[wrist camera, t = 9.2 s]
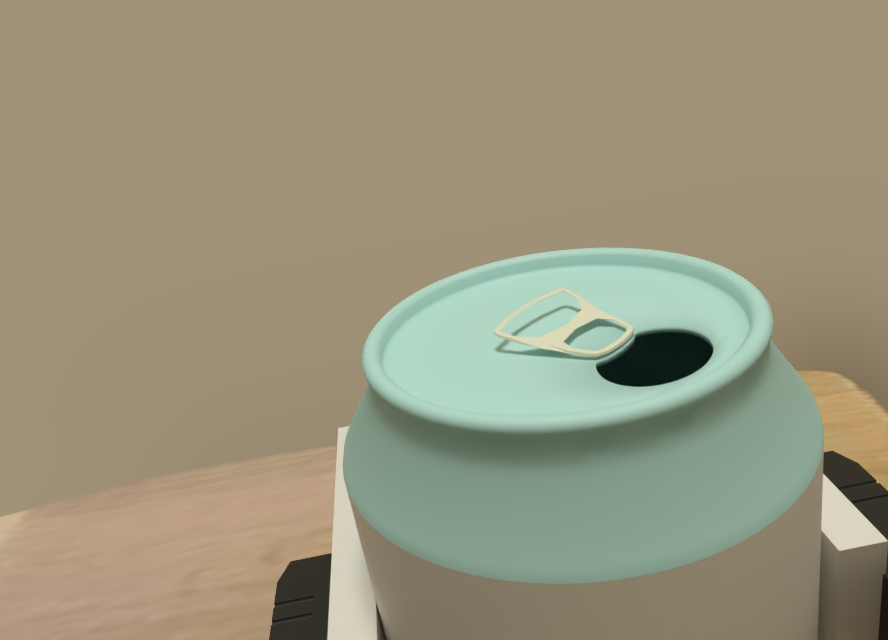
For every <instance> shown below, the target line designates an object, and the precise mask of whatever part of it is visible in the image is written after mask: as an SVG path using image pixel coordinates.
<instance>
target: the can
mask: <svg viewBox="0 0 888 640" xmlns="http://www.w3.org/2000/svg"><path fill="white" fill-rule="evenodd" d="M772 331H773V315H772V311H771V308H770V305H769V303H768V302H767V300H766V298H765V297H764V295H763V294H762V293H761V292H760V291H759V290H758V289H757V288H755V286H753V285H752V284H751V283H750V282H748V281H747V280H746V279H744V278H743V277H741V276H740V275H738V274H736V273H735V272H732V271H731V270H729V269H727V268H725V267H722V266H720V265H717V264H715V263H712V262H709V261H706V260H702V259H699V258H695V257H691V256H687V255H682V254H677V253H671V252H665V251H658V250H648V249H633V248H585V249H570V250H561V251H551V252H545V253H537V254H531V255H525V256H520V257H515V258H510V259H506V260H501V261H497V262H493V263H489V264H486V265H482V266H479V267H475V268H472V269H469V270H466V271H463V272H460V273H458V274H455V275H452V276H450V277H447V278H445V279H443V280H440V281H438V282H435V283H433V284H432V285H429V286H427V287H425V288H423V289H421V290H419V291H418V292H416V293H414V294H412V295H411V296H409V297H407V298H406V299H404V300H403V301H402V302H400V303H399V304H397V305H396V306H395V307H393V308H392V309H391V310H390V311H389V312H388V313H387V314H385V315H384V316H383V318H382V319H381V320H380V321H379V322H378V323H377V324H376V326H375V327H374V328H373V330H372V331H371V333H370V334H369V336H368V337H367V339H366V341H365V344H364V347H363V350H362V359H361V360H362V367H363V372H364V375H365V377H366V380H367V382H368V386H367V388H366V391H365V394H364V395H363V398H362V400H361V402H360V405H359V406H358V409H357V411H356V413H355V416H354V418H353V420H352V422H351V425H350V427H349V429H348V432H347V435H346V439H345V444H344V454H343V476H344V481H345V485H346V489H347V492H348V496H349V500H350V504H351V508H352V511H353V515H354V519H355V523H356V527H357V530H358V534H359V538H360V542H361V546H362V549H363V553H364V557H365V561H366V565H367V569H368V572H369V576H370V580H371V584H372V588H373V591H374V595H375V599H376V603H377V607H378V610H379V614H380V618H381V622H382V626H383V629H384V633H385V637H386V640H818V615H819V584H820V552H821V521H822V490H823V458H824V429H823V423H822V418H821V415H820V412H819V409H818V407H817V404H816V401H815V399H814V396H813V394H812V392H811V391H810V389H809V387H808V386H807V384H806V383H805V381H804V380H803V379H802V378H801V377H800V375H799V374H798V373H797V372H796V370H795V369H794V368H793V367H792V366H791V364H790V363H789V362H788V361H787V359H786V358H785V357H784V356H783V354H782V353H781V352H780V351H779V350H778V348H777V347H776V346H775V345H774V344H773V342H772V341H771V337H772Z"/></svg>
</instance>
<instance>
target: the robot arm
mask: <svg viewBox="0 0 888 640" xmlns="http://www.w3.org/2000/svg"><path fill="white" fill-rule="evenodd" d="M349 427H350V426H347V427H342V428H338V444H337V463H336V482H335V501H334V521H333V540H332V553H331V554H326V555H321V556H316V557H311V558H306V559H301V560H296V561H291V562H290V563H289V565H288V567H287V568H286V570H285V571H284V573H283V574H282V576H281V577H280V579H279V581H278V582H277V589H276V596H275V603H274V604H275V608H274V610H273V617H272V625H271V631H270V638H269V640H386V637H385V633H384V629H383V626H382V622H381V618H380V614H379V610H378V607H377V603H376V599H375V595H374V591H373V588H372V584H371V580H370V576H369V572H368V569H367V565H366V561H365V557H364V553H363V549H362V546H361V542H360V538H359V534H358V530H357V527H356V523H355V519H354V515H353V511H352V508H351V504H350V500H349V496H348V492H347V489H346V485H345V481H344V476H343V454H344V444H345V439H346V435H347V432H348V429H349ZM818 640H888V491H887V490H886V489H885V488H884V487H883V486H882V485H881V484H880V483H878V484H877V483H876V480H875V479H874V478H873V477H872V476H871V475H870V474H869V473H868V472H867V471H866V470H865V469H864V468H863V467H862V466H860V465H859V464H858V463H856V462H854V461H852V460H850V459H848V458H846V457H844V456H842V455H840V454H838V453H836V452H834V451H829V452H824V458H823V490H822V521H821V552H820V584H819V615H818Z"/></svg>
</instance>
